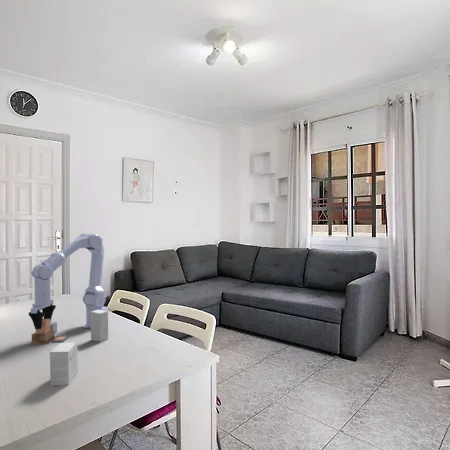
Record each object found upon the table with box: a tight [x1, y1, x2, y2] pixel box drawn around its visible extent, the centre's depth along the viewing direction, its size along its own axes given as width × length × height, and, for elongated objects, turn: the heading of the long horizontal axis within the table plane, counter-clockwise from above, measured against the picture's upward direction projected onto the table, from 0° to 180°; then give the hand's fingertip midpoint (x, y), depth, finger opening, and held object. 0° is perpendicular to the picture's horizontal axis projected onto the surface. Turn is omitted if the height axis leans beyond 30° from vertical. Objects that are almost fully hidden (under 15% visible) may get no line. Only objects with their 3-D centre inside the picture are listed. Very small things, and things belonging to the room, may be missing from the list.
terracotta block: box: [35, 318, 50, 334], centre depth 138 cm, size 4×4×5 cm
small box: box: [49, 341, 79, 387], centre depth 105 cm, size 8×6×10 cm
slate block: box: [50, 321, 58, 336], centre depth 146 cm, size 4×4×5 cm
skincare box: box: [90, 310, 109, 343], centre depth 140 cm, size 6×4×12 cm
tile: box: [50, 336, 70, 343], centre depth 140 cm, size 5×5×1 cm
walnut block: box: [31, 330, 55, 345], centre depth 138 cm, size 6×6×4 cm
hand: (42, 325), depth 138 cm, fingers open, 7 cm apart
